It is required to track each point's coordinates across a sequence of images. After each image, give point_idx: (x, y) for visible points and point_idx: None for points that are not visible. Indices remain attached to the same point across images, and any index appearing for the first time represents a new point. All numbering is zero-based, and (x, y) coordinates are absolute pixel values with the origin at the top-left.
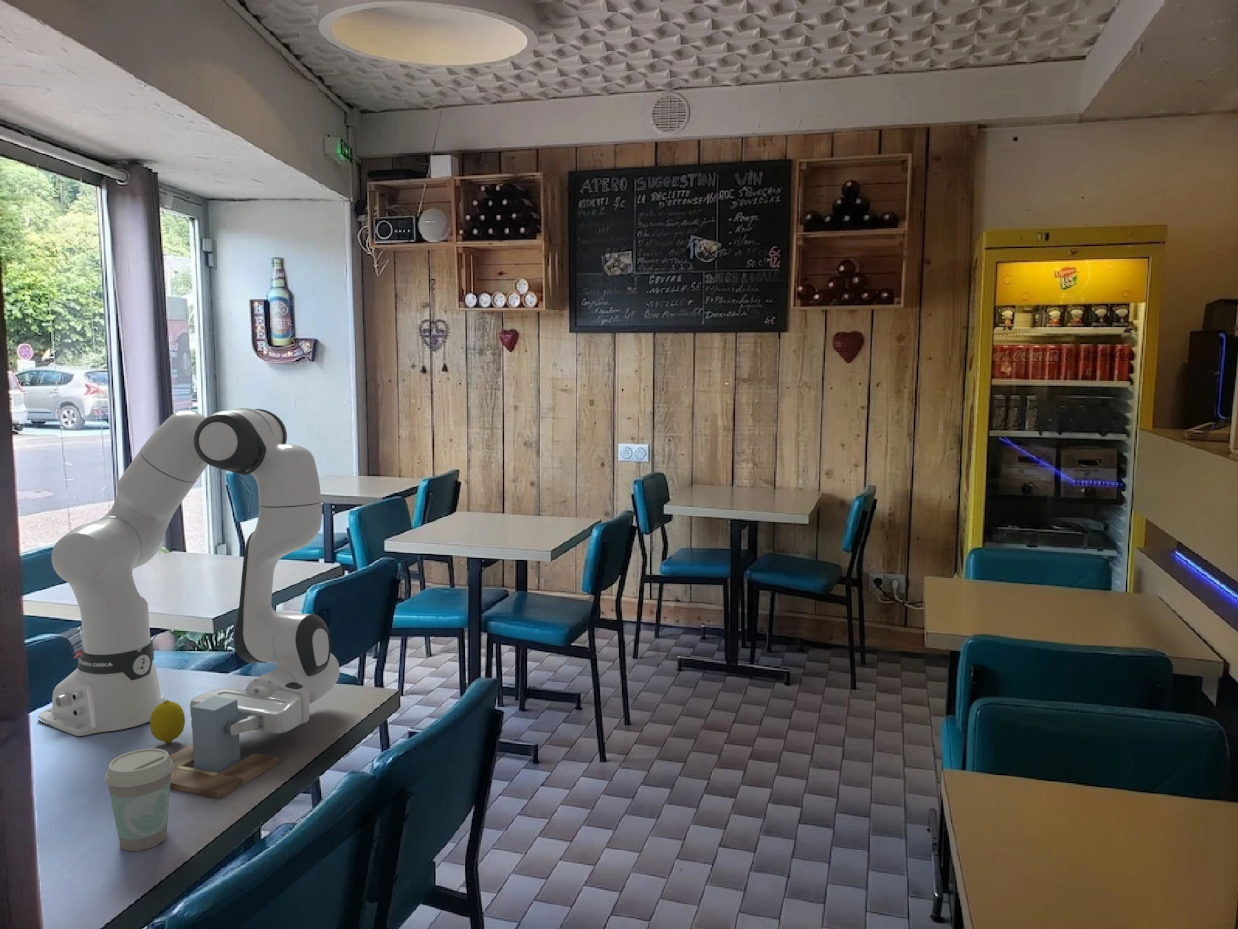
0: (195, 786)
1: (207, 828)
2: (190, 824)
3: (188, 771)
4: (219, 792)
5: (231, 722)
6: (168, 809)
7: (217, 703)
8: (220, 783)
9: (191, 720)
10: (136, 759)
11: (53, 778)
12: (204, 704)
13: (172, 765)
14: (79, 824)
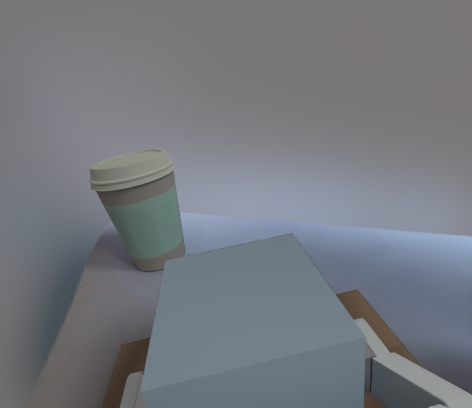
0: None
1: (93, 300)
2: (126, 293)
3: None
4: (121, 346)
5: None
6: (123, 240)
7: (218, 293)
8: (144, 369)
9: (359, 318)
10: (136, 158)
11: (468, 242)
12: (266, 261)
13: (93, 186)
14: (265, 235)
